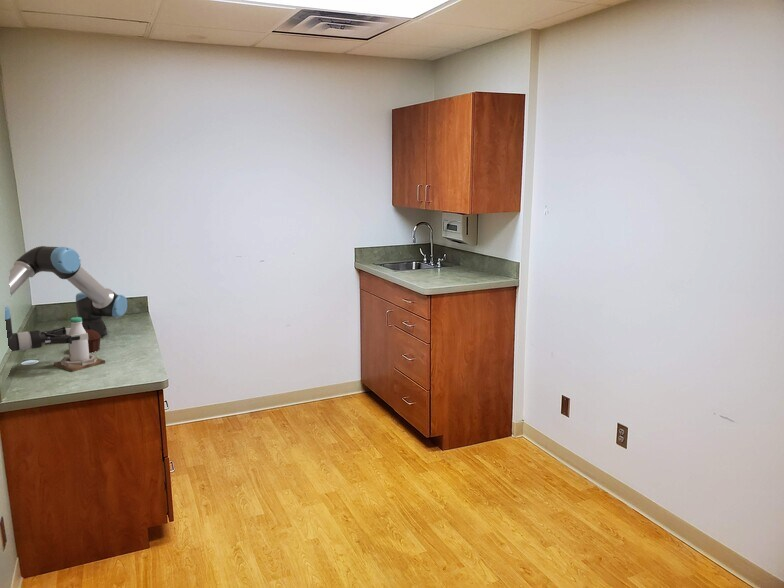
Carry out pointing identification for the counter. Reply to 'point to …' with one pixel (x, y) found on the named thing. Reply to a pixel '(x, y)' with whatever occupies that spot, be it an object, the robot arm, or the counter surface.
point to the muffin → (93, 340)
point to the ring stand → (79, 363)
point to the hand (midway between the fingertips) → (85, 332)
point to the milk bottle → (78, 342)
